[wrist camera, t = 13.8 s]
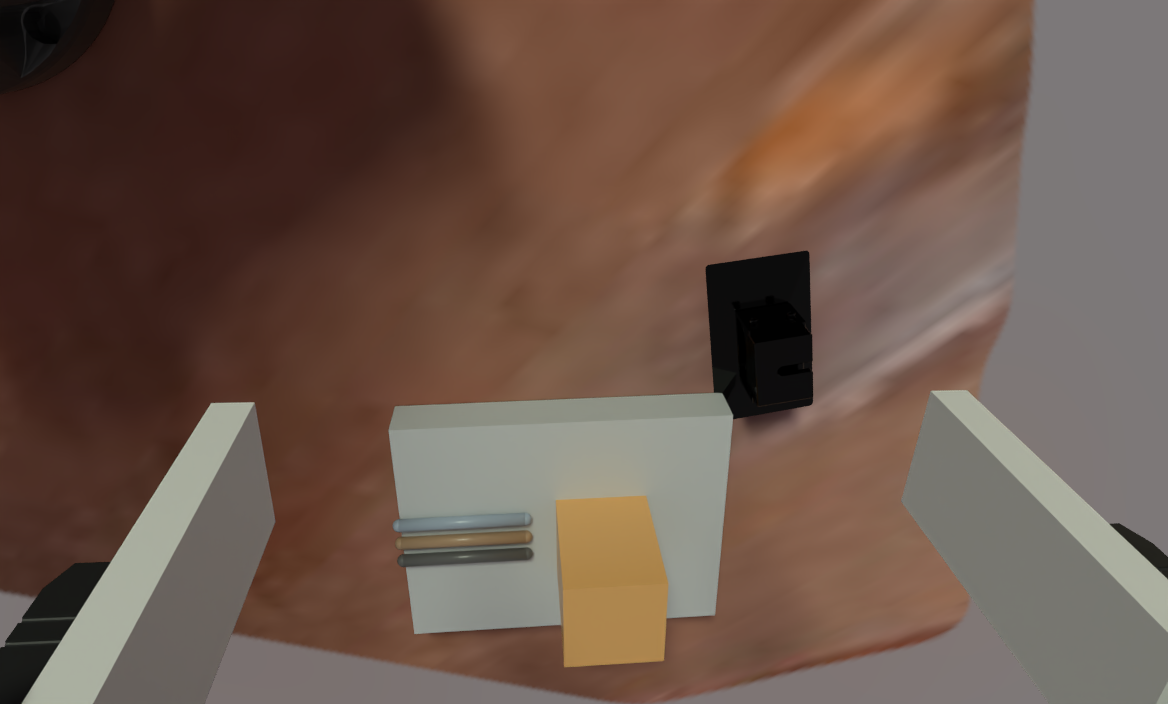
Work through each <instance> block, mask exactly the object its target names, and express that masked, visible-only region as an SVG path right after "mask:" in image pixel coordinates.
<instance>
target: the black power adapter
mask: <svg viewBox="0 0 1168 704" xmlns="http://www.w3.org/2000/svg"><path fill="white" fill-rule="evenodd" d="M706 282H707V297H708V311H709V326H710V340H711V355H712V369H713V384H714V393H722V394H723V396H724V398H725V400H726V402H727V404H728V406H729V408H730V410H731V412H732V414H733V419H737V418H743V417H748V416H754V415H759V414H765V413H770V412H776V411H782V410H787V409H793V408H798V407H804V406H809V405H811V404H812V403H813V372H812V361H813V358H812V334H811V305H810V263H809V252H808V251H801V252H794V253H787V254H780V255H774V256H767V257H760V258H753V259H746V260H739V261H733V262H726V263H719V264H712V265H708V266H707V267H706Z"/></svg>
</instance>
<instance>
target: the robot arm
mask: <svg viewBox="0 0 1168 704" xmlns="http://www.w3.org/2000/svg"><path fill="white" fill-rule="evenodd" d="M113 3H114V0H0V94H4V93H8V92H12V91H16V90H21V89H24V88H27V87H30V86H33V85H36V84H38V83H41V82H43V81H45V80H47V79H49V78H51V77H53V76H55V75H57V74H58V73H60V72H61V71H63V70H64V69H66V68H67V67H68V66H70V65H71V64H72V63H74V62H75V61H76V60H77V59H78V58H79V57H80V56H81V55H82V54H83V53H84V52H85V51H86V50H87V49H88V48H89V46H90V45H91V44H92V43H93V41H94V40H95V38H96V37H97V36H98V34H99V33H100V31H101V29H102V27H103V26H104V24H105V22H106V20H107V18H108V16H109V13H110V11H111V8H112V6H113ZM901 502H902V503H903V505H904V506H905V507H906V509H907V510H908V511H909V513H910V514H911V516H912V517H913V518H914V520H915V521H916V522H917V524H918V525H919V526H920V528H921V529H922V531H923V532H924V533H925V535H926V536H927V537H928V539H929V540H930V542H931V543H932V544H933V546H934V547H935V548H936V550H937V551H938V552H939V554H940V555H941V557H942V558H943V559H944V561H945V562H946V563H947V565H948V566H949V568H950V569H951V570H952V572H953V573H954V574H955V576H956V577H957V579H958V580H959V581H960V583H961V584H962V585H963V587H964V588H965V589H966V591H967V592H968V594H969V595H970V596H971V598H972V599H973V600H974V602H975V603H976V604H977V606H978V607H979V609H980V610H981V611H982V613H983V614H984V615H985V617H986V618H987V620H988V621H989V622H990V624H991V625H992V626H993V628H994V629H995V630H996V632H997V633H998V635H999V636H1000V637H1001V639H1002V640H1003V641H1004V643H1005V644H1006V646H1007V647H1008V648H1009V650H1010V651H1011V652H1012V654H1013V655H1014V657H1015V658H1016V659H1017V661H1018V662H1019V663H1020V665H1021V666H1022V667H1023V669H1024V670H1025V672H1026V673H1027V674H1028V676H1029V677H1030V678H1031V680H1032V681H1033V682H1034V684H1035V685H1036V687H1037V688H1038V689H1039V691H1040V692H1041V693H1042V695H1043V696H1044V698H1045V699H1046V700H1047V702H1048V703H1049V704H1168V557H1167V556H1166V555H1165V554H1164V553H1163V552H1162V551H1161V550H1160V549H1158V548H1157V547H1156V546H1155V545H1154V544H1153V543H1151V542H1149V541H1148V540H1146V539H1145V538H1143V537H1141V536H1140V535H1138V534H1136V533H1134V532H1133V531H1131V530H1129V529H1128V528H1126V527H1124V526H1123V525H1121V524H1119V523H1118V524H1109V523H1107V522H1106V521H1105V520H1104V519H1103V518H1102V517H1101V516H1100V515H1099V514H1098V513H1097V512H1096V511H1095V510H1094V509H1093V508H1091V507H1090V506H1089V505H1088V504H1087V503H1086V502H1085V501H1084V500H1083V499H1082V498H1081V497H1080V496H1079V495H1077V493H1075V492H1074V491H1073V490H1072V489H1071V488H1070V487H1069V486H1068V485H1067V484H1066V483H1065V482H1064V481H1063V480H1062V479H1061V478H1060V477H1059V476H1057V475H1056V474H1055V473H1054V472H1053V471H1052V470H1051V469H1050V468H1049V467H1048V466H1047V465H1046V464H1045V463H1044V462H1043V461H1042V460H1040V459H1039V458H1038V457H1037V456H1036V455H1035V454H1034V453H1033V452H1032V451H1031V450H1030V449H1029V448H1028V447H1027V446H1025V444H1023V443H1022V442H1021V441H1020V440H1019V439H1018V438H1017V437H1016V436H1015V435H1014V434H1013V433H1012V432H1011V431H1010V430H1009V429H1007V428H1006V427H1005V426H1004V425H1003V424H1002V423H1001V422H1000V421H999V420H998V419H997V418H996V417H995V416H994V415H993V414H991V413H990V412H989V411H988V410H987V409H986V408H985V407H984V406H983V405H982V404H981V403H980V402H979V401H978V400H977V399H976V398H975V397H973V396H972V395H971V394H970V393H969V392H968V391H967V390H951V391H931V392H930V396H929V400H928V403H927V407H926V411H925V415H924V418H923V422H922V426H921V429H920V433H919V437H918V441H917V444H916V448H915V452H914V456H913V459H912V463H911V467H910V470H909V474H908V478H907V482H906V485H905V489H904V493H903V497H902V500H901ZM274 524H275V516H274V511H273V505H272V499H271V494H270V488H269V482H268V476H267V471H266V465H265V459H264V453H263V448H262V442H261V436H260V430H259V425H258V419H257V413H256V408H255V402H246V403H211V404H210V406H209V407H208V409H207V411H206V412H205V414H204V415H203V417H202V419H201V420H200V422H199V423H198V425H197V426H196V428H195V430H194V431H193V433H192V434H191V436H190V438H189V439H188V441H187V442H186V444H185V445H184V447H183V449H182V450H181V452H180V453H179V455H178V457H177V458H176V460H175V461H174V463H173V464H172V466H171V468H170V469H169V471H168V472H167V474H166V476H165V477H164V479H163V480H162V482H161V484H160V485H159V487H158V488H157V490H156V491H155V493H154V495H153V496H152V498H151V499H150V501H149V503H148V504H147V506H146V507H145V509H144V510H143V512H142V514H141V515H140V517H139V518H138V520H137V522H136V523H135V525H134V526H133V528H132V529H131V531H130V533H129V534H128V536H127V537H126V539H125V541H124V542H123V544H122V545H121V547H120V548H119V550H118V552H117V553H116V555H115V556H114V558H113V560H112V561H111V562H96V563H75V564H74V565H72V566H71V567H70V568H68V569H67V570H66V571H65V572H63V573H62V574H61V575H60V576H58V577H57V578H56V579H54V580H53V581H52V582H51V583H49V584H48V585H47V586H46V587H44V588H43V589H42V590H41V592H40V593H39V595H38V596H37V597H36V599H35V600H34V602H33V603H32V605H31V606H30V607H29V609H28V611H27V612H26V613H25V614H24V616H23V617H22V619H23V620H22V623H18V624H17V626H16V627H15V628H14V630H13V631H12V633H11V634H10V635H9V637H8V638H7V640H6V641H5V642H6V644H5V647H1V648H0V704H204V703H205V701H206V698H207V696H208V694H209V691H210V688H211V685H212V683H213V681H214V678H215V675H216V673H217V670H218V668H219V665H220V663H221V660H222V657H223V655H224V652H225V650H226V647H227V645H228V642H229V639H230V637H231V634H232V632H233V629H234V627H235V624H236V621H237V619H238V616H239V614H240V611H241V609H242V606H243V603H244V601H245V598H246V596H247V593H248V591H249V588H250V585H251V583H252V580H253V578H254V575H255V573H256V570H257V567H258V565H259V562H260V560H261V557H262V555H263V552H264V549H265V547H266V544H267V542H268V539H269V537H270V534H271V531H272V529H273V526H274Z"/></svg>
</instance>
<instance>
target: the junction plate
mask: <svg viewBox="0 0 1168 704" xmlns="http://www.w3.org/2000/svg"><path fill="white" fill-rule="evenodd" d="M732 423H733V414H732V412H731V410H730V408H729V406H728V404H727V402H726V400H725V398H724V396H723V394H722V393H702V394H678V395H654V396H630V397H606V398H582V399H558V400H534V401H510V402H486V403H463V404H439V405H415V406H395V408H394V412H393V416H392V419H391V423H390V427H389V438H390V446H391V454H392V461H393V469H394V477H395V485H396V493H397V501H398V508H399V516H400V519H397V520H396V521H394V523H393V529H394V530H395V531H396V532H402V537H399V538H398V539H397V540H396V541H395V546H396V548H397V549H399V550H404V554H402V555H400V556H399V557H398V560H397V562H398V564H399V566H401V567H406V571H407V579H408V587H409V594H410V602H411V610H412V618H413V626H414V634H421V633H437V632H453V631H469V630H485V629H501V628H517V627H533V626H549V625H561V618H560V605H559V591H558V578H557V543H556V500H565V499H585V498H606V497H626V496H646V497H647V501H648V505H649V509H650V513H651V517H652V521H653V525H654V528H655V532H656V536H657V540H658V544H659V548H660V552H661V556H662V560H663V564H664V568H665V572H666V576H667V580H668V583H669V584H668V601H667V617H666V618H678V617H694V616H710V615H715V609H716V598H717V587H718V576H719V565H720V554H721V543H722V532H723V521H724V510H725V499H726V488H727V477H728V467H729V456H730V445H731V434H732Z"/></svg>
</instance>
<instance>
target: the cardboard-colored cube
mask: <svg viewBox="0 0 1168 704" xmlns="http://www.w3.org/2000/svg"><path fill="white" fill-rule="evenodd" d="M556 543H557V578H558V591H559V605H560V618H561V632H562V645H563V659H564V667H577V666H592V665H608V664H624V663H639V662H655V661H664V651H665V634H666V617H667V601H668V584H669V583H668V580H667V576H666V572H665V568H664V564H663V560H662V556H661V552H660V548H659V544H658V540H657V536H656V532H655V528H654V525H653V521H652V517H651V513H650V509H649V505H648V501H647V497H646V496H626V497H606V498H585V499H565V500H556Z"/></svg>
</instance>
